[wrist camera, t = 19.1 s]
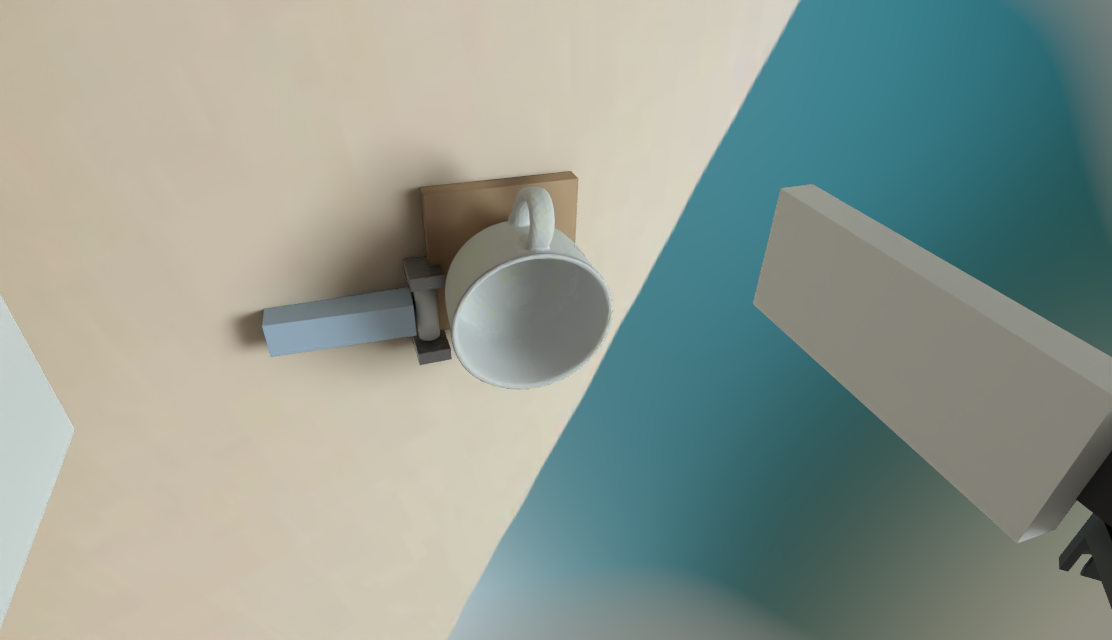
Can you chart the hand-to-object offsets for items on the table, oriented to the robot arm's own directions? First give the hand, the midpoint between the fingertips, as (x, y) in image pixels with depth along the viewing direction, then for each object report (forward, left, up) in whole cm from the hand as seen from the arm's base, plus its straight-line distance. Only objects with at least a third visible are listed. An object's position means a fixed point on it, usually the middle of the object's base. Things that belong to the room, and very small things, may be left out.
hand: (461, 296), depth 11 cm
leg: (-2, -20, -32) cm, 38 cm away
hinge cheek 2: (+3, -23, -32) cm, 39 cm away
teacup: (+9, -16, -30) cm, 36 cm away
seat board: (+9, -16, -32) cm, 37 cm away
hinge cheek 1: (+3, -17, -32) cm, 36 cm away
